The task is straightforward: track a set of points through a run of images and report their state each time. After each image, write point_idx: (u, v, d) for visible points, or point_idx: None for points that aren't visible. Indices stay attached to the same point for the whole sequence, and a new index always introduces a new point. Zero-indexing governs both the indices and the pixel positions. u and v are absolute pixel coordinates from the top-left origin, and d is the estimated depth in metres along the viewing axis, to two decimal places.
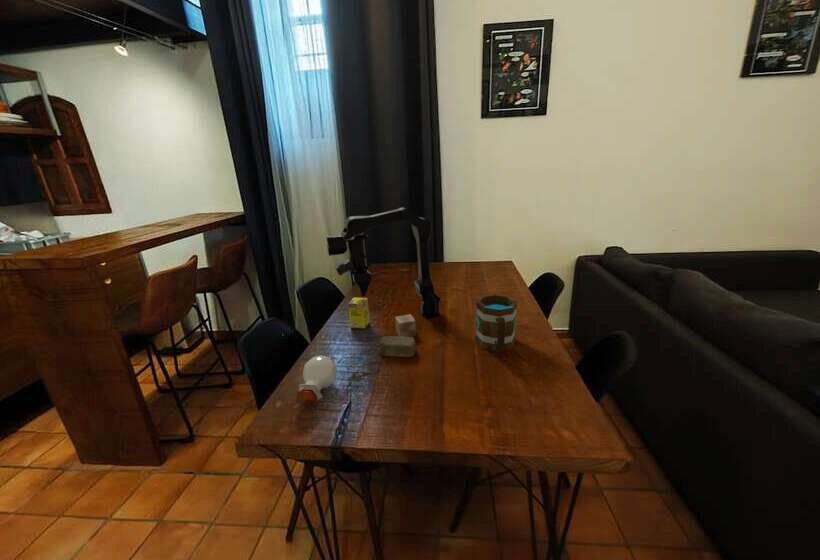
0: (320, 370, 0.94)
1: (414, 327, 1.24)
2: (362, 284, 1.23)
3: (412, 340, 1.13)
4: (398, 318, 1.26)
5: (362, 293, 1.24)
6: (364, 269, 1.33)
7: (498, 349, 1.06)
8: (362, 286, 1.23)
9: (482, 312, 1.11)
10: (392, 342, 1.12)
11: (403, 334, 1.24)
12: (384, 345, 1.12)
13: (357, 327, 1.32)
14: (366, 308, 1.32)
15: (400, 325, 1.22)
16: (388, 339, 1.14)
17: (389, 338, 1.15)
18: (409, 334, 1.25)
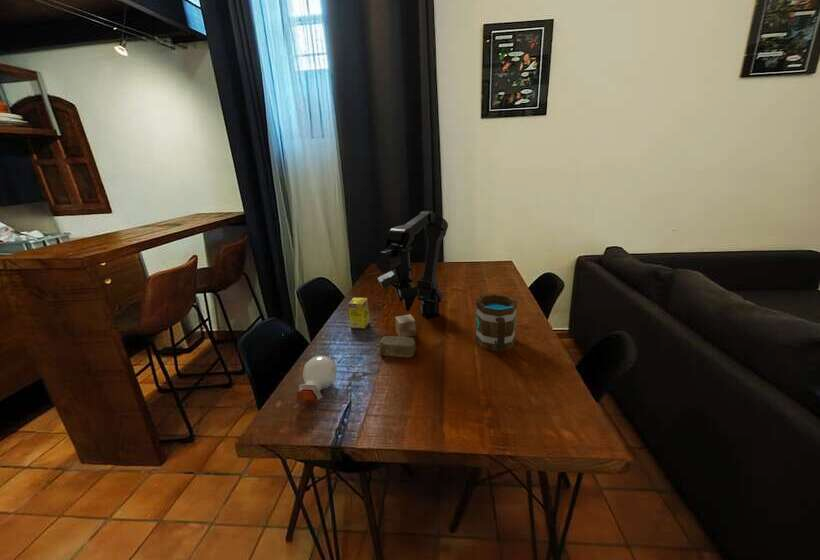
0: (320, 371, 0.94)
1: (414, 327, 1.24)
2: (407, 298, 1.17)
3: (412, 341, 1.13)
4: (398, 318, 1.26)
5: (407, 307, 1.19)
6: None
7: (498, 349, 1.06)
8: (407, 300, 1.17)
9: (482, 312, 1.11)
10: (392, 342, 1.12)
11: (403, 334, 1.24)
12: (383, 345, 1.12)
13: (357, 327, 1.32)
14: (366, 308, 1.32)
15: (400, 325, 1.22)
16: (388, 339, 1.14)
17: (389, 338, 1.15)
18: (409, 334, 1.25)
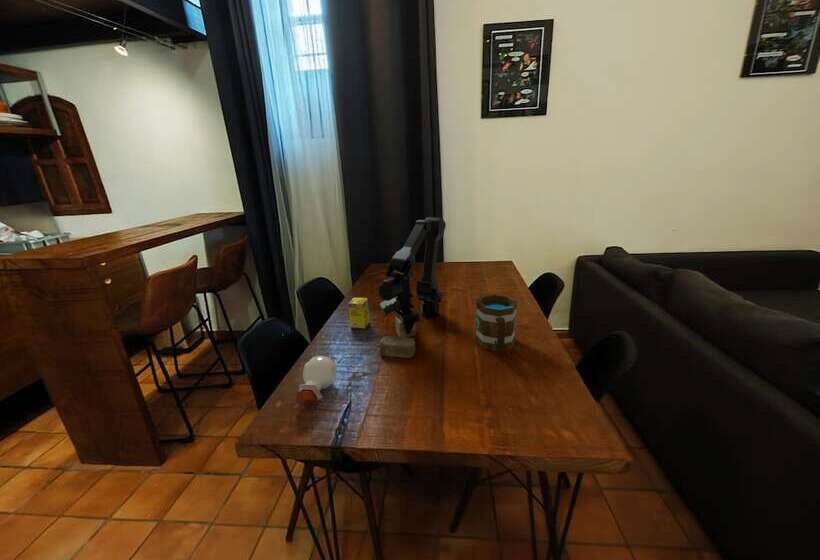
0: (320, 371, 0.94)
1: (414, 327, 1.24)
2: (408, 322, 1.21)
3: (412, 341, 1.13)
4: (398, 318, 1.26)
5: (407, 331, 1.23)
6: None
7: (498, 349, 1.06)
8: (408, 324, 1.22)
9: (482, 312, 1.11)
10: (392, 342, 1.12)
11: (403, 334, 1.24)
12: (383, 345, 1.12)
13: (357, 327, 1.32)
14: (366, 308, 1.32)
15: (400, 325, 1.22)
16: (388, 339, 1.14)
17: (389, 338, 1.15)
18: (409, 334, 1.25)
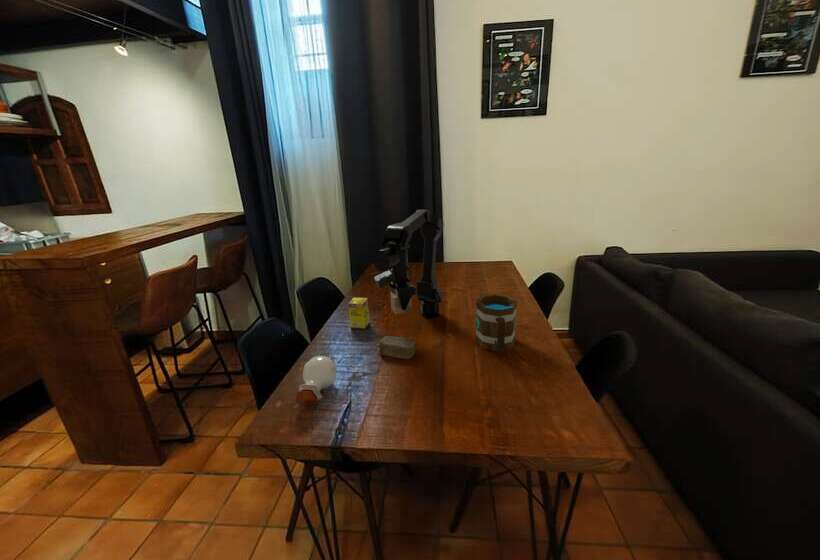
0: (320, 371, 0.94)
1: (410, 302, 1.17)
2: (403, 297, 1.14)
3: (411, 342, 1.12)
4: (393, 293, 1.19)
5: (403, 306, 1.16)
6: None
7: (498, 349, 1.06)
8: (403, 299, 1.14)
9: (482, 312, 1.11)
10: (391, 342, 1.12)
11: (399, 309, 1.17)
12: (382, 345, 1.12)
13: (357, 327, 1.32)
14: (366, 308, 1.32)
15: (395, 300, 1.15)
16: (388, 339, 1.14)
17: (390, 338, 1.15)
18: (405, 310, 1.17)
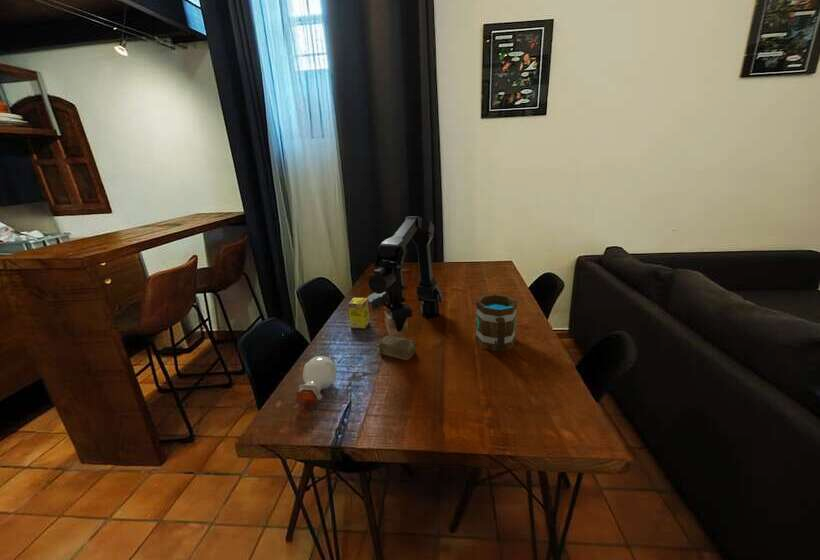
0: (320, 371, 0.94)
1: (406, 323, 1.09)
2: (399, 318, 1.06)
3: (410, 344, 1.11)
4: (388, 313, 1.11)
5: (398, 328, 1.08)
6: None
7: (498, 349, 1.06)
8: (399, 320, 1.07)
9: (482, 312, 1.11)
10: (391, 342, 1.12)
11: (394, 331, 1.09)
12: (382, 344, 1.12)
13: (357, 327, 1.32)
14: (366, 308, 1.32)
15: (390, 321, 1.07)
16: (388, 339, 1.14)
17: (390, 338, 1.15)
18: (400, 331, 1.09)
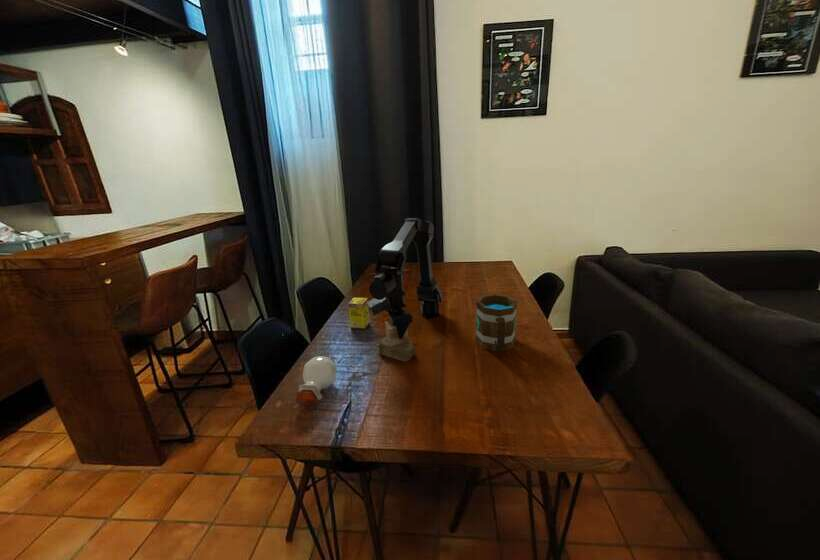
0: (320, 371, 0.94)
1: (406, 333, 1.10)
2: (400, 325, 1.06)
3: (409, 345, 1.10)
4: (388, 323, 1.12)
5: (399, 335, 1.07)
6: None
7: (498, 349, 1.06)
8: (400, 328, 1.06)
9: (482, 312, 1.11)
10: None
11: (394, 341, 1.10)
12: (381, 344, 1.12)
13: (357, 327, 1.32)
14: (366, 308, 1.32)
15: (390, 331, 1.08)
16: None
17: None
18: (401, 341, 1.10)
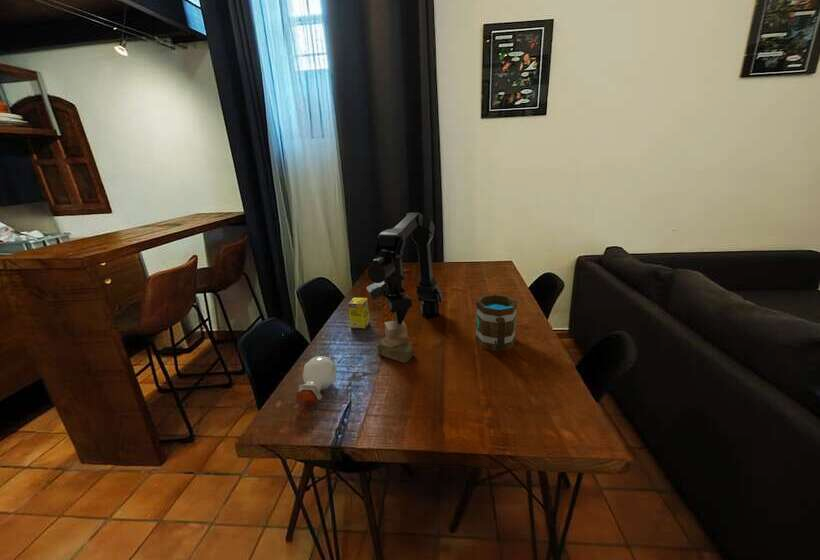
0: (320, 371, 0.94)
1: (406, 334, 1.10)
2: (399, 310, 1.05)
3: (408, 346, 1.10)
4: (388, 324, 1.11)
5: (399, 320, 1.06)
6: None
7: (498, 349, 1.06)
8: (399, 313, 1.05)
9: (482, 313, 1.11)
10: None
11: (394, 342, 1.09)
12: (380, 345, 1.12)
13: (357, 327, 1.32)
14: (366, 308, 1.32)
15: (390, 332, 1.08)
16: None
17: None
18: (400, 342, 1.10)
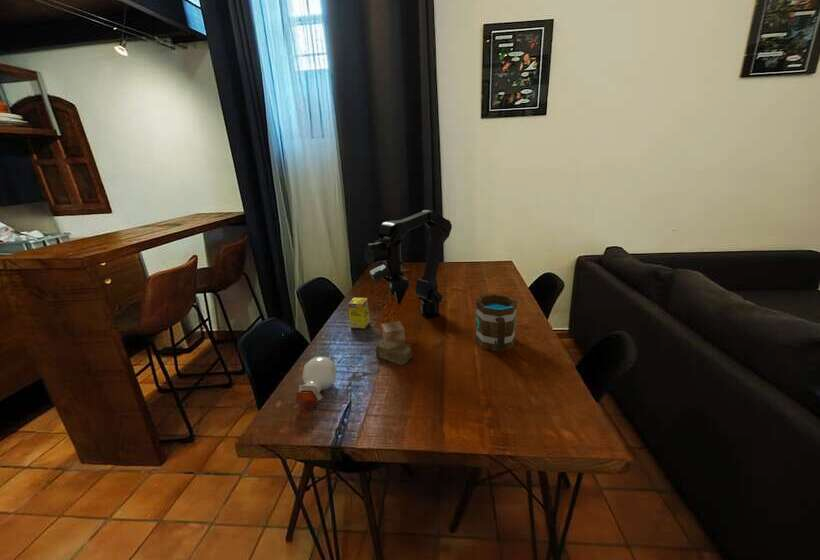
0: (319, 371, 0.94)
1: (403, 336, 1.08)
2: (398, 291, 1.19)
3: (406, 348, 1.09)
4: (385, 326, 1.10)
5: (398, 300, 1.21)
6: None
7: (498, 349, 1.06)
8: (398, 293, 1.20)
9: (482, 313, 1.11)
10: None
11: (391, 344, 1.08)
12: (378, 347, 1.11)
13: (357, 327, 1.32)
14: (366, 308, 1.32)
15: (387, 334, 1.07)
16: None
17: None
18: (397, 344, 1.09)
